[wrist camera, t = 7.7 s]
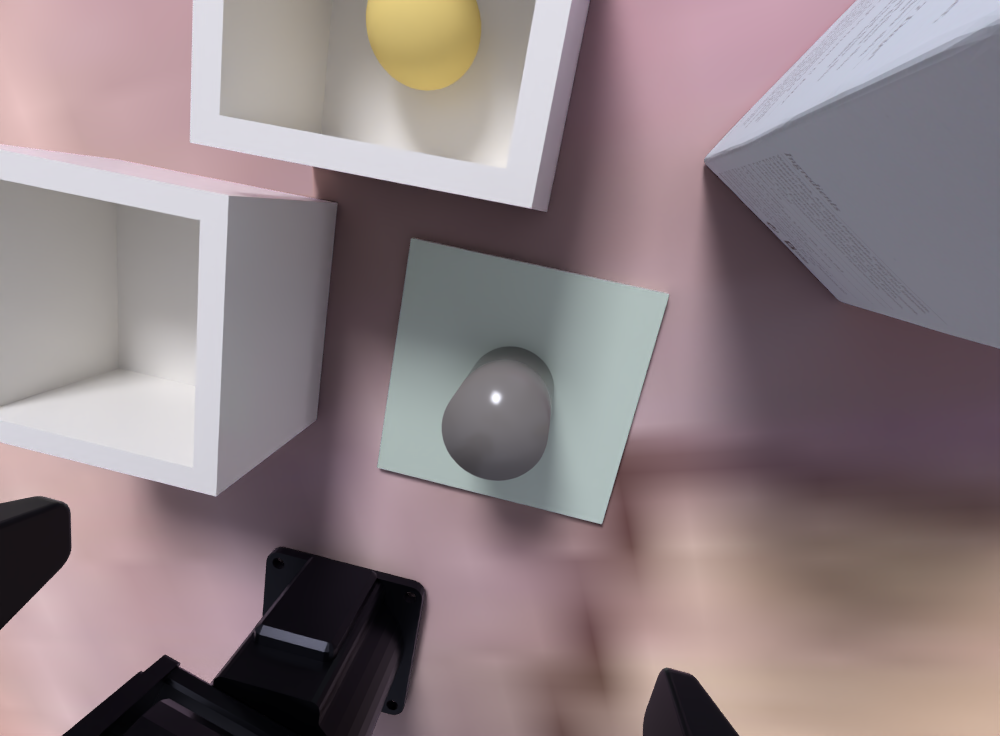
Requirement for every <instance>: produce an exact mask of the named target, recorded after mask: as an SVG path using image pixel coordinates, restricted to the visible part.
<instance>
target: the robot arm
mask: <svg viewBox="0 0 1000 736" xmlns="http://www.w3.org/2000/svg"><path fill="white" fill-rule="evenodd" d="M70 552H71V513H70V509H69V507H68V505H67V504H65V503H64V502H62V501H58V500H54V499H51V498H47V497H42V496H36V497H30V498H25V499H20V500H15V501H10V502H5V503H0V630H1V629H2V628H3V627H4V626H5V625H6V624H7V623H8V621H9V620H10V619H11V618H12V617H13V616H14V615H15V614H16V613H17V612H18V611H19V610H20V609H21V608H22V607H23V606H24V605H25V604H26V603H27V602H28V601H29V600H30V599H31V598H32V597H33V596H34V595H35V594H36V593H37V592H38V591H39V590H40V589H41V588H42V587H43V586H44V585H45V584H46V583H47V582H48V581H49V580H50V579H51V578H52V577H53V576H54V575H55V574H56V573H57V572H58V571H59V570H60V569H61V568H62V566H63V565H64V564H65V562H66V561H67V559H68V557H69V555H70ZM278 558H280V559H282V560H283V562H284V563H282V562H280V561H279V559H278ZM407 592H411V593H413V594H414V595H415V597H414V596H410V595H409V594H408V593H407ZM424 596H425V590H424V588H423V586H422V585H421V584H420V583H419V582H416V581H414V580H410V579H406V578H402V577H398V576H394V575H391V574H387V573H383V572H379V571H375V570H371V569H367V568H363V567H359V566H355V565H352V564H348V563H344V562H340V561H336V560H332V559H328V558H324V557H320V556H317V555H313V554H309V553H305V552H301V551H297V550H293V549H289V548H285V547H278V548H276V549H275V550H274V551H273V552H272V553H271V554H270V555H269V556H268V558H267V563H266V577H265V590H264V604H263V617H262V618H261V620H260V621H259V622H258V623H257V625H256V626H255V628H254V629H253V630H252V632H251V633H250V634H249V635H248V637H247V638H246V639H245V641H244V642H243V643H242V644H241V646H240V647H239V648H238V649H237V651H236V652H235V653H234V654H233V656H232V657H231V658H230V659H229V661H228V662H227V663H226V664H225V666H224V667H223V668H222V669H221V671H220V672H219V673H218V674H217V676H216V677H215V678H214V679H213V681H212V682H211V683H210V684H209V683H207V682H206V681H204V680H202V679H200V678H199V677H197V676H195V675H193V674H192V673H190V672H188V671H186V670H185V669H183V668H181V667H179V666H180V663H179V662H178V661H176V660H174V659H172V658H171V657H169V656H167V655H164V656H162V657H161V658H160V659H159V660H158V661H156V662H155V663H154V664H153V665H152V666H150V667H149V668H148V669H147V670H146V671H144V672H142V671H140V672H139V673H137V674H136V675H135V676H134V677H132V678H131V679H130V680H129V681H128V682H126V683H125V684H124V685H123V686H122V687H120V688H119V689H118V690H117V691H116V692H114V693H113V694H112V695H111V696H109V697H108V698H107V699H106V700H105V701H103V702H102V703H101V704H100V705H99V706H97V707H96V708H95V709H94V710H93V711H91V712H90V713H89V714H88V715H86V716H85V717H84V718H83V719H82V720H80V721H79V722H78V723H77V724H76V725H74V726H73V727H72V728H71V729H70V730H68V731H67V732H66V733H65V734H63V735H62V736H371V735H372V732H373V730H374V727H375V725H376V722H377V720H378V717H379V715H380V712H384V713H388V714H392V715H396V714H399V713H401V712H402V710H403V708H404V705H405V703H406V699H407V694H408V688H409V682H410V676H411V671H412V665H413V659H414V654H415V648H416V642H417V636H418V631H419V625H420V619H421V613H422V608H423V602H424ZM392 700H393V701H395V702H393V701H392ZM643 736H739V735H738V733H737V732H736V731H735V729H734V728H733V727H732V725H731V724H730V723H729V721H728V720H727V719H726V717H725V716H724V715H723V713H722V712H721V711H720V709H719V708H718V707H717V705H716V704H715V703H714V701H713V700H712V699H711V697H710V696H709V695H708V693H707V692H706V691H705V689H704V688H703V687H702V685H701V684H700V683H699V681H698V680H697V679H696V678H695V677H694V676H693V675H691V674H689V673H685V672H682V671H678V670H674V669H671V668H664V669H662V671H661V672H660V673H659V675H658V678H657V681H656V684H655V686H654V689H653V692H652V695H651V698H650V700H649V703H648V706H647V709H646V712H645V716H644V722H643Z"/></svg>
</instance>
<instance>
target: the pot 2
mask: <svg viewBox="0 0 1000 736" xmlns="http://www.w3.org/2000/svg"><path fill="white" fill-rule="evenodd" d="M476 1H477V4H478V8H479V12H480V18H481V38H480V44H479V48H478V51H477V54H476V57H475V59H474V61H473V63H472V65H471V66H470V68H469V69H468V70H467V72H466V73H465V74H464V75H463V76H462V77H461V78H460V79H459V80H457V81H456V82H454V83H453V84H451V85H449V86H447V87H445V88H442V89H438V90H428V91H425V90H417V89H413V88H410V87H408V86H406V85H404V84H402V83H400V82H398V81H397V80H395V79H394V78H393V77H392V76H390V74H389V73H388V72H387V71H386V70H385V69H384V68H383V67H382V66H381V64H380V63H379V61H378V60H377V58H376V56H375V54H374V52H373V50H372V48H371V45H370V42H369V39H368V34H367V28H366V8H367V2H368V0H193V25H192V70H191V116H190V143H195V144H200V145H205V146H211V147H216V148H221V149H226V150H231V151H236V152H241V153H246V154H251V155H256V156H261V157H266V158H271V159H276V160H282V161H287V162H292V163H297V164H302V165H307V166H312V167H317V168H322V169H327V170H333V171H338V172H343V173H348V174H353V175H358V176H364V177H369V178H374V179H379V180H384V181H389V182H394V183H400V184H405V185H410V186H415V187H420V188H425V189H431V190H436V191H441V192H446V193H451V194H456V195H462V196H467V197H472V198H477V199H482V200H487V201H493V202H498V203H503V204H508V205H513V206H518V207H523V208H529V209H534V210H539V211H544V212H547V211H548V206H549V201H550V196H551V191H552V186H553V181H554V176H555V171H556V166H557V161H558V156H559V151H560V146H561V141H562V136H563V132H564V127H565V122H566V117H567V112H568V107H569V102H570V97H571V92H572V87H573V82H574V77H575V72H576V67H577V62H578V57H579V52H580V48H581V43H582V38H583V33H584V28H585V23H586V18H587V13H588V8H589V3H590V0H476Z"/></svg>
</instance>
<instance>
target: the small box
mask: <svg viewBox="0 0 1000 736" xmlns="http://www.w3.org/2000/svg"><path fill="white" fill-rule="evenodd" d="M704 162H705V164H706V165H707V166H708V167H709V168H710V169H711V170H712V171H713V172H714V173H715V174H716V175H717V176H718V177H719V178H720V179H721V180H722V181H723V182H724V183H725V184H726V185H727V186H728V187H729V188H730V189H731V190H732V191H733V192H734V193H735V194H736V195H737V196H738V197H739V198H740V199H741V201H742V202H743V203H744V204H745V205H746V206H747V207H748V208H749V209H751V211H752V212H753V213H754V214H755V215H756V216H757V217H758V218H759V219H760V220H761V221H762V222H763V223H764V224H765V225H766V226H767V227H768V228H769V229H770V230H771V231H772V232H773V233H774V234H775V235H776V236H777V237H778V238H779V239H780V240H781V241H782V242H783V243H784V244H785V245H786V246H787V247H788V248H789V249H790V250H791V251H792V252H793V253H794V255H795V256H796V257H797V258H798V259H799V260H800V261H801V262H802V263H803V264H804V265H805V266H806V267H807V268H808V269H809V270H810V271H811V272H812V273H813V274H814V275H815V277H816V278H817V279H818V280H819V281H820V282H821V283H822V284H823V285H824V286H825V287H826V288H827V289H828V290H829V291H830V292H831V293H832V294H833V295H834V296H835V297H836V298H837V299H838V300H839V301H841V302H843V303H847V304H850V305H852V306H856V307H860V308H863V309H866V310H870V311H873V312H876V313H880V314H883V315H887V316H890V317H893V318H896V319H899V320H903V321H906V322H909V323H913V324H916V325H919V326H922V327H926V328H929V329H932V330H936V331H939V332H942V333H946V334H949V335H952V336H956V337H960V338H963V339H967V340H971V341H974V342H977V343H981V344H985V345H989V346H992V347H996V348H999V349H1000V0H856V1H855V2H854V4H853V5H852V6H851V7H850V8H849V9H848V10H847V11H846V12H845V13H844V14H843V15H842V16H841V17H840V18H839V19H838V20H837V21H836V22H835V23H834V24H833V25H832V26H831V27H830V28H829V29H828V30H827V31H826V32H825V33H824V34H823V35H822V36H821V37H820V38H819V39H818V40H817V41H816V42H815V43H814V44H813V45H812V47H811V48H810V49H809V50H808V51H807V52H806V53H805V54H804V55H803V56H802V57H801V58H800V59H799V60H798V61H797V62H796V63H795V64H794V65H793V66H792V67H791V68H790V69H789V70H788V71H787V72H786V73H785V74H784V75H783V76H782V77H781V78H780V79H779V80H778V81H777V82H776V83H775V84H774V86H773V87H772V88H771V89H770V90H769V91H768V92H767V93H766V94H765V95H764V96H763V97H762V98H761V99H760V100H759V101H758V102H757V103H756V104H755V105H754V106H753V107H752V108H751V109H750V110H749V111H748V112H747V113H746V114H745V115H744V116H743V117H742V119H741V120H740V121H739V122H738V123H737V124H736V125H735V126H734V127H733V128H732V129H731V130H730V131H729V132H728V133H727V134H726V135H725V136H724V137H723V139H722V140H721V141H720V142H719V143H718V144H717V145H716V146H715V147H714V148H713V149H712V151H711V152H710V153H709V154H708V155H707V156H706V157H705V159H704Z"/></svg>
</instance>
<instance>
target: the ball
mask: <svg viewBox="0 0 1000 736" xmlns="http://www.w3.org/2000/svg"><path fill="white" fill-rule="evenodd" d="M366 28H367V34H368V39H369V42H370V45H371V48H372V50H373V52H374V54H375V56H376V58H377V60H378V61H379V63H380V64H381V66H382V67H383V68H384V69H385V70H386V71H387V72H388V73H389V74H390V76H392V77H393V78H394V79H395V80H397V81H398V82H400V83H402V84H404V85H406V86H408V87H410V88H413V89H417V90H425V91H428V90H438V89H442V88H445V87H447V86H449V85H451V84H453V83H454V82H456V81H457V80H459V79H460V78H461V77H462V76H463V75H464V74H465V73H466V72H467V70H468V69H469V68H470V66H471V65H472V63H473V61H474V59H475V57H476V54H477V51H478V48H479V44H480V38H481V18H480V12H479V8H478V4H477V1H476V0H368V2H367V8H366Z"/></svg>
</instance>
